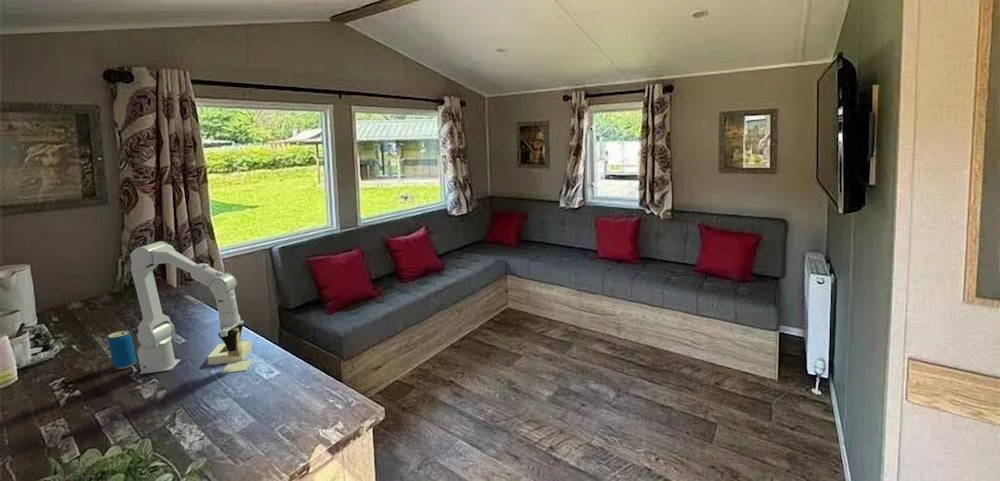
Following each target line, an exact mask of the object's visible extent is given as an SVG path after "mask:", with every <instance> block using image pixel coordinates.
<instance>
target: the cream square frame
mask: <svg viewBox="0 0 1000 481" xmlns="http://www.w3.org/2000/svg"><path fill="white" fill-rule="evenodd" d="M241 344H242V350H243V352H242V354H241V355H240V356H238V357H229V358H228V352H225V351H227V347H226V345H225V343H224V342H223V343H218V345H216V347H215V348H214V349H213V350H212V352H210V354H209V355H207V362H208V365H209V366H214V365H221V364H222V365H223V364H228V363H230V362H238V361H245V359H246V358H247V356H248V355H249V353H250V352H251V350H252V349H253V347H252V340H244V341H242V340H241Z"/></svg>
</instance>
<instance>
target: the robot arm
mask: <svg viewBox="0 0 1000 481" xmlns="http://www.w3.org/2000/svg"><path fill="white" fill-rule="evenodd" d="M129 255H130V256H129V257H130V261H131V264H130V265H131V266H130V271H131V275H132V278H133V282H134V287H135V290H136V294H137V299H138V303H139V307H140V312H141V317H142V320H141V321H140V323H139V324H138V326H137V331H138V334H137V340H138V343H139V345H140V346H139V347H138V350H137V358H138V364H139V368H140V372H139V374H142V375H143V374H149V373H151V374H152V373H159V372H160V373H161V372H167V371H172V370H173V369H174V368H175V366H176V365H178V363H179V362H180V361H181V359H179V358H178V359H177V358H175V354H174V348H173V344H172V339H173V335H174V334H175V326H174V324H173V323H172V321H171V319H170V317H169V316H168V315H165V314H163V309H162V304H161V300H160V297H159V293H158V289H157V284H156V279H155V274H154V273H153V271H154V269H156V267H157V266H158V265H159V264H160V265H161V264H169V265H172V266H174V267H176V268H178V269H180V270H183V271H185V272H187V273H189V274H190V277H191V278H192V279H193V280H195V281H196V282H198V283H200V284H202V285H204V286H206V287H208V289H209V291H210V292H211V293H212V295H213V298H214V300H215V302H216V303H215V304H216V307H217V313H218V320H219V332H218V333H217V334H218V337H219V338H220V339H221V340H222V341H223V344H224V343H225V345H226V347H227V349H228V351H235V350H236V338H237V333H238V331H233V330H231V329H233V328H238V327H239V332H240V338H241V335H242V330H243V327H244V323H245V322H244V320H241V315H240V314H239V309H238V304H237V297H236V292H235V291H236V290H235V288H236V287H237V285H238V281H237V278H236V277H235V275H233V274H232V273H230V272H225V273H224V272H221V271H219V270H217V269H214V268H213V267H211V266H210V265H209V264H208V263H204V262H203V263H202V262H201V263H196V262H194V261H193V260H191V259H190V258H188V257H186V255H183V254H181V253H180V252H178V251H176V250H175V248H174V246H173V245H171V244H168V243H167V242H166V241H162V240H159V241H156V242H153V243H150V244H148V245H147V244H146V245H143V246H138V247H136V248H135V249H133V250H132V251H131V253H130V254H129Z"/></svg>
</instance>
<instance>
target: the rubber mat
mask: <svg viewBox="0 0 1000 481" xmlns="http://www.w3.org/2000/svg"><path fill="white" fill-rule="evenodd" d="M252 362H253V359H247V360H244V361H238V362H230V363H227V364H226V366H225V367H224V369H223V370H222V372H221V374H222V375H223V374H230V373H238V372H247V370H248V369H249V368H250V365H251V364H252Z"/></svg>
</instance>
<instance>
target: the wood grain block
mask: <svg viewBox="0 0 1000 481" xmlns="http://www.w3.org/2000/svg"><path fill="white" fill-rule="evenodd" d="M231 330H233V331H238V333H237V338H236V350H235V351H228V349H227V352H228V358H229V357H238V356H240V355H241V354H242V352H243V350H242V344H241V342H242V339H241V337H240V332H239V327H238V328H233V329H231Z"/></svg>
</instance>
